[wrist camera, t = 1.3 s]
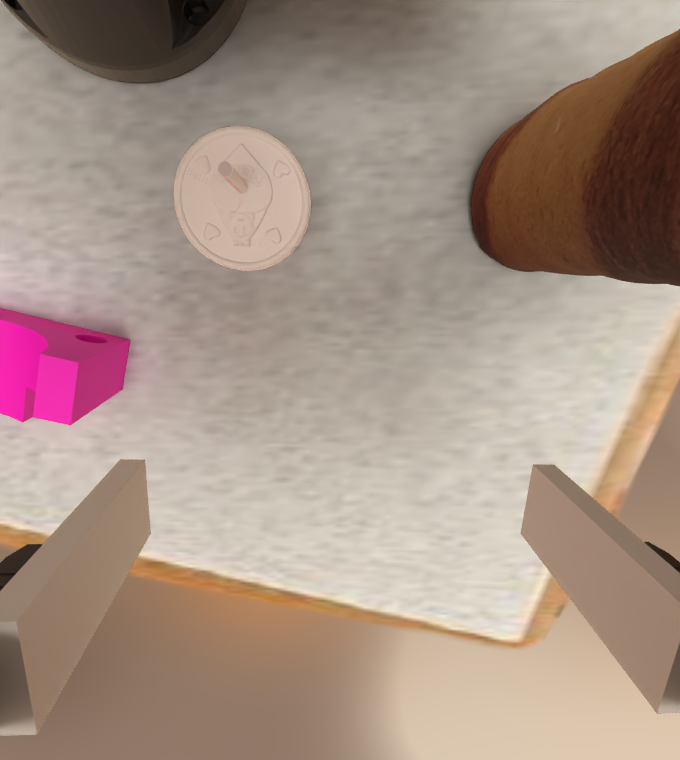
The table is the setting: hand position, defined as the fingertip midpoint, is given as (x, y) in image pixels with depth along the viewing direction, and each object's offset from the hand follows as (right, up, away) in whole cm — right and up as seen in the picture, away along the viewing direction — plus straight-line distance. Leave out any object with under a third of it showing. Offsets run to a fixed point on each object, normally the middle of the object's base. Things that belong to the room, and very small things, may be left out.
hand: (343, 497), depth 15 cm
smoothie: (-5, +15, +15) cm, 22 cm away
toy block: (-23, +6, +16) cm, 29 cm away
